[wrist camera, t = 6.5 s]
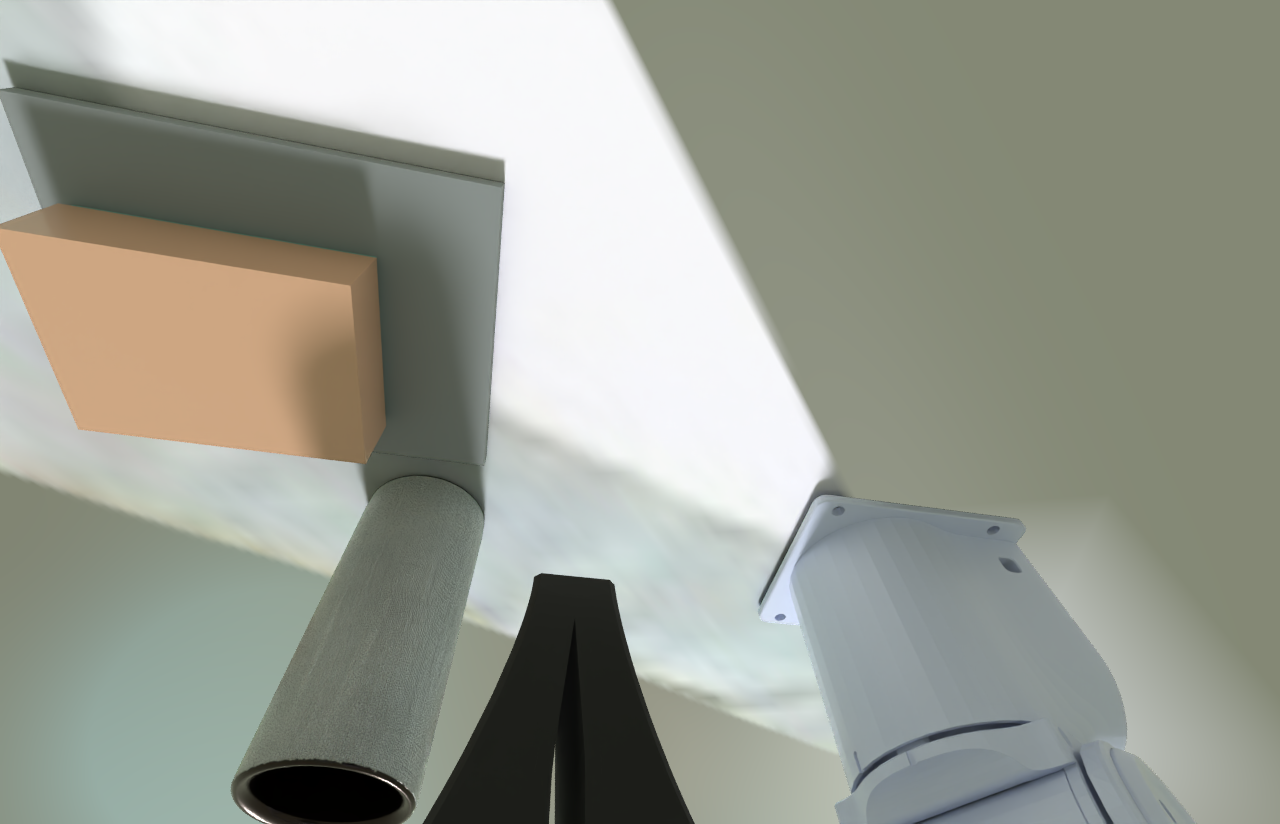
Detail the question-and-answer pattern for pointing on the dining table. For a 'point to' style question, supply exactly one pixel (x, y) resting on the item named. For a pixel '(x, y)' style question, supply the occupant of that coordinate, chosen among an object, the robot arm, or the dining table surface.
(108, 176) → the mat
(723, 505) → the dining table surface
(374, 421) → the tile
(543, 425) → the dining table surface
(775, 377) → the dining table surface
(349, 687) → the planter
